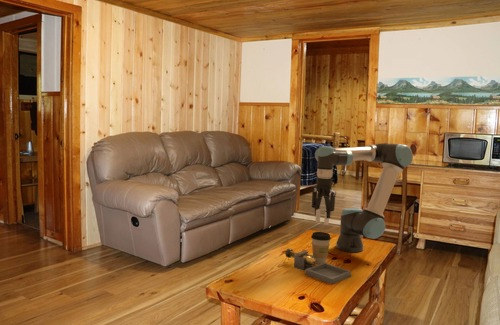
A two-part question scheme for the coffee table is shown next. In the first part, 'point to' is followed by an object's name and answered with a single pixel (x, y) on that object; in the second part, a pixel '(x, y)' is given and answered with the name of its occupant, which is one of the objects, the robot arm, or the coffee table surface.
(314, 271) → the grey square tray
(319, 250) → the coffee cup
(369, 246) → the coffee table surface
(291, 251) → the lock pin
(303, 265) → the pin mount
